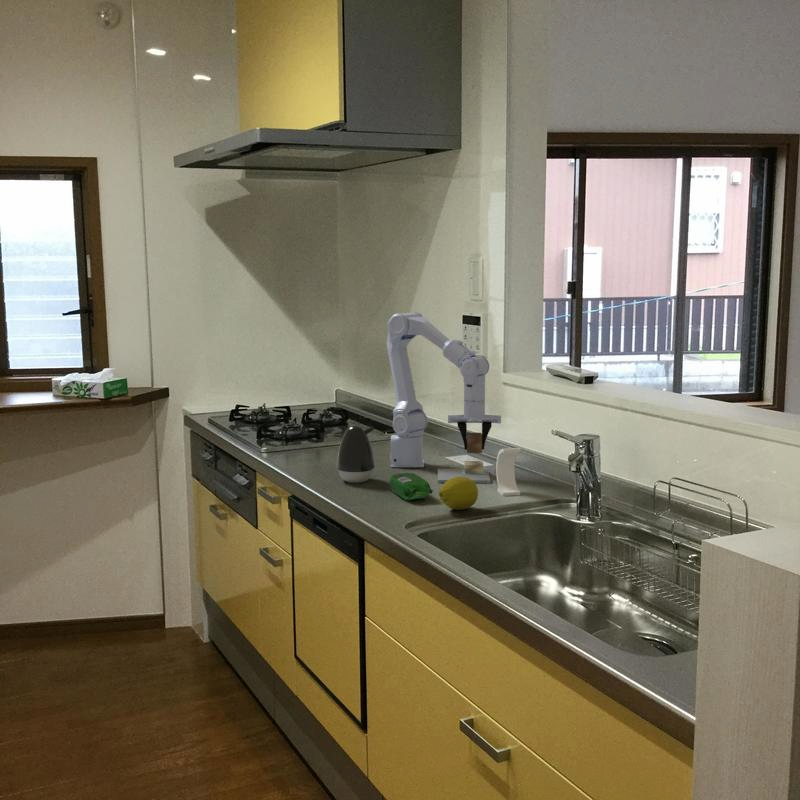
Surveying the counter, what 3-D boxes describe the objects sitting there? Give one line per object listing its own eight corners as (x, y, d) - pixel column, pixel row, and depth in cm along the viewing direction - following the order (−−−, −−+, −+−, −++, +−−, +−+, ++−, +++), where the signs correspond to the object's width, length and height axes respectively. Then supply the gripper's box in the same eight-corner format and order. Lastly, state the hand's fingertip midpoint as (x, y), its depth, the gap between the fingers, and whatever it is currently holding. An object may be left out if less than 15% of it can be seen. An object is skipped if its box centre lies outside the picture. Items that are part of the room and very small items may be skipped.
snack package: (406, 505, 231) (407, 484, 230) (386, 490, 246) (386, 470, 245) (434, 503, 234) (434, 482, 233) (412, 488, 248) (412, 469, 247)
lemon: (470, 503, 232) (470, 471, 231) (486, 511, 225) (486, 478, 224) (430, 508, 228) (430, 476, 227) (445, 516, 221) (446, 482, 220)
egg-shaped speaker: (381, 482, 254) (381, 426, 252) (346, 486, 250) (345, 430, 247) (366, 474, 263) (365, 420, 261) (331, 478, 259) (330, 423, 256)
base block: (465, 473, 260) (465, 464, 260) (464, 469, 265) (464, 460, 265) (483, 473, 260) (483, 464, 260) (482, 469, 265) (482, 460, 265)
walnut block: (467, 453, 260) (467, 435, 259) (466, 450, 264) (466, 432, 263) (481, 453, 260) (481, 435, 259) (481, 450, 264) (481, 432, 263)
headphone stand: (502, 496, 240) (503, 449, 238) (495, 490, 245) (496, 444, 244) (520, 495, 240) (520, 448, 239) (513, 489, 246) (513, 444, 244)
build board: (437, 482, 254) (437, 479, 253) (437, 471, 267) (437, 468, 267) (490, 483, 253) (490, 480, 253) (487, 471, 267) (487, 468, 267)
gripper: (448, 402, 256) (447, 451, 258) (502, 402, 256) (501, 451, 258) (447, 398, 263) (447, 446, 265) (500, 398, 263) (499, 446, 265)
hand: (474, 448), depth 262 cm, fingers closed on walnut block, 4 cm apart
